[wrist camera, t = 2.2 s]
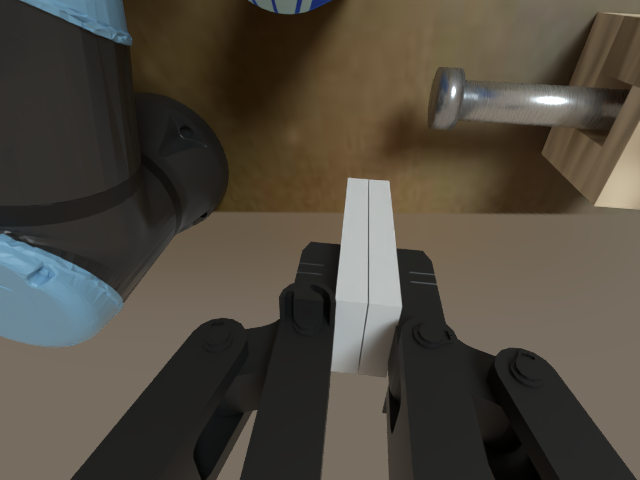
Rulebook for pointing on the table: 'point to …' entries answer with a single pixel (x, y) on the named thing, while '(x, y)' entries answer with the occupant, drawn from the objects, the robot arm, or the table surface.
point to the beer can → (289, 5)
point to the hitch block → (628, 129)
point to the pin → (520, 103)
